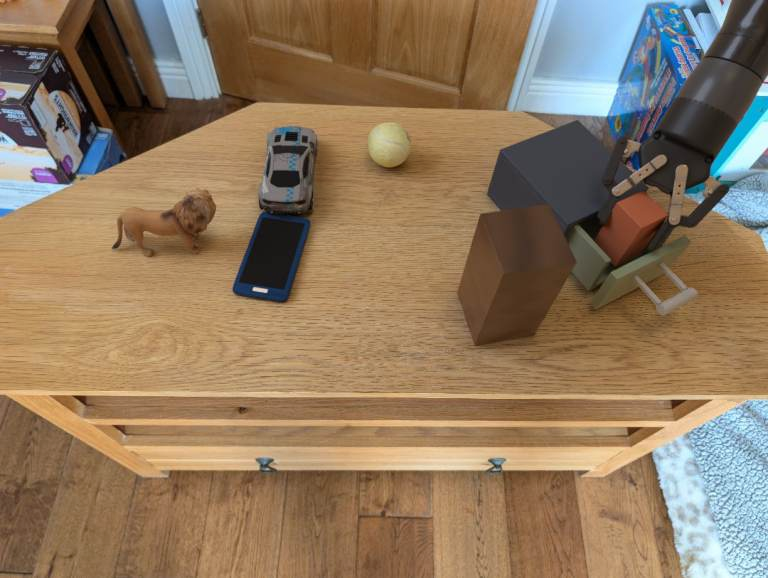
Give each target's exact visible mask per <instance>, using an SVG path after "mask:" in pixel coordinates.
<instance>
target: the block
mask: <svg viewBox="0 0 768 578" xmlns="http://www.w3.org/2000/svg"><path fill="white" fill-rule="evenodd" d="M667 217H668V212H667V211H665V210H664V209H663V207H661V205H659V203H657V202H656V201H655V199H653V198H652V197H651V196H650V195H649V194H648V193H647V192H644V191H641V192H639V193H637V194H634V195H632V196H630V197H628V198H626V199H624V200H621V201H619V202H617V203H616V205H615V206H614V208H613V210H612V213H611V215H610V217H609V218H608V220H607V222H606V223H605V225H604V226H603V227H602V228H601V230H600V232H599V233H598V235H597V237H596V238H595V240H594V242H595V243H596V244H597V245H598V246H599V247H600V248H601V249H602V250H603V251H604V253H605V254H606V255H607V256H608V257H609V258H610V259H611V263H612V264H613V265H614V266H615V267H616V266H618V265H620V264H622V263H624V262H626V261H628V260H630V259H632V258H634V257H636V256H638V255H640V254H641V252H642V251H643V250H644V248H645V247H646V245H647V244H648V243H649V241H650V240H651V239H652V237H653V236H654V234H655V233H656V231H657V230H658V228H659V227H660V226H661V224H662V223H663V222H665V221H666V219H667Z"/></svg>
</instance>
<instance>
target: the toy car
mask: <svg viewBox="0 0 768 578" xmlns="http://www.w3.org/2000/svg"><path fill="white" fill-rule="evenodd" d="M318 146H319V145H318V133H315V130H313V129H312V128H309V127H303V126H302V127H301V126H300V125H298V126H297V125H286V126H279V127H274V128H273V129H272V130H271V131H270V132H268V133H267V135H266V148H267V149H266V150H267V151H266V159H265V165H264V172H263V176H262V183H260V184H259V185H258V206H259V209H260V210H262V211H263V212H267V213H272V214H275V213H278V214H285V215H287V214H288V215H291V214H292V215H294V214H296V215H304V214H306V213H307V212H308V211H314V205H315V193H314V176H315V175H314V173H315V164H316V157H317V156H318V152H319V151H318V148H319V147H318Z"/></svg>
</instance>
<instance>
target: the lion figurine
mask: <svg viewBox="0 0 768 578" xmlns="http://www.w3.org/2000/svg"><path fill="white" fill-rule="evenodd" d="M184 194H185V195H184V197H183V198H182V199H181V200H179V201H177V202H175V204H174V206H173V207H172V208H170V209H167V210H159V209H158V210H149V209H148V210H147V209H144V208H142V207H137V206H131V207H128V208H126V209H124V211H121V212H120V213H119V214H118V215H117V218H116V225H117V240H116V241H115V243H113V245H112V247H111V249H112V250H116V249H119V247H120V246H121V244H122V242H123V236H125V237H126V238H127V239H128V240H131V241H134V244H135V245H134V246H136V248H138V249H139V250H140V252H141V253H142V254H143V255H144V256H145V257H147V258H150V257H152V256H153V255H154V254H155V253H154V252H155V251H154V249H153V248H149V247H146V246H145V245H144V243H143V242H144V241H143V240H144V232H148V233H150V234H153V235H156V236H159V237H175V236H179V238H180V239H182V240H183V241H184V244H185V245H186V247H187V249H188V250H189V251H190V253H192V254H194V255H197V254H199V253H200V252H201V246H200V245H197V244H196V243H195V239H196V238H197V237H198V235H199V234H200V233H203V232H205V231H207V228H208V225H209V224H210V223H211V222H212V221H213V219H214V218H215V215H216V211H217V205H216V203H215V201H214V199H213V196H212V194H211V193H210V192H209V190H208V189H203V190H202V189H201V188H200V187H199V188H193V189H188V190H185V192H184ZM123 231H124V232H123ZM123 233H124V235H123Z"/></svg>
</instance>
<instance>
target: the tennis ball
mask: <svg viewBox="0 0 768 578" xmlns="http://www.w3.org/2000/svg"><path fill="white" fill-rule="evenodd" d="M366 142H367V143H366V145H365V146H366V148H367V151H368V154H369V155H370V156H369V157H370V158H371V160H372V161H373V162H374V163H376V164H377V165H379V166H381V167H385V168H394V167H398V166H399V165H401V164H403V163H404V162H405V161H406V160H407V158H408V157H409V155H410V153H411V146H412V140H411V137H410V134H409V132H408V130H407V129H406V128H405V127H404V126H402V125H401V124H400V123H397V122H392V121H391V122H390V121H387V122H383V123H379V124H378V125H376V126H375V127H374V128H373V129H372V130H370V132H369V135H368V136H367V141H366Z"/></svg>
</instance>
